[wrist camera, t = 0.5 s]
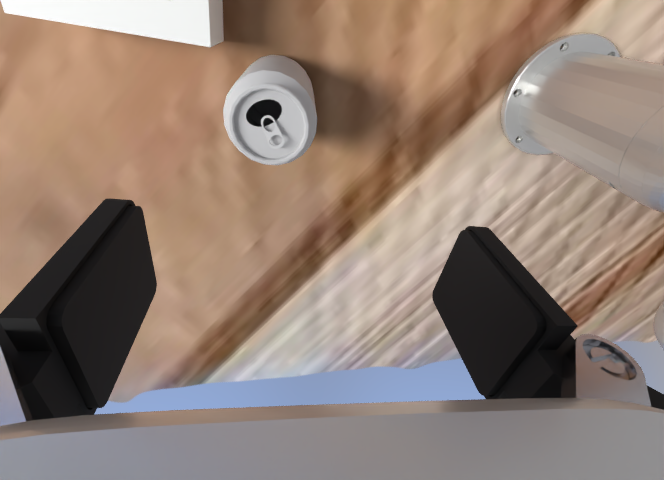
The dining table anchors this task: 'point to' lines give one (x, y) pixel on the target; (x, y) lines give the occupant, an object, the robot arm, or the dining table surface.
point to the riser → (134, 17)
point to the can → (271, 111)
